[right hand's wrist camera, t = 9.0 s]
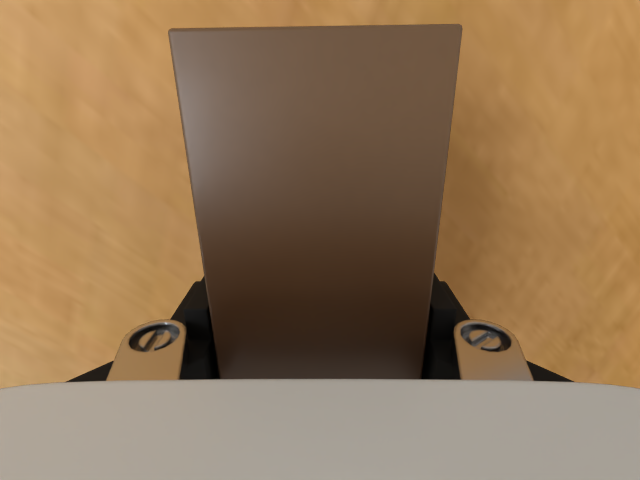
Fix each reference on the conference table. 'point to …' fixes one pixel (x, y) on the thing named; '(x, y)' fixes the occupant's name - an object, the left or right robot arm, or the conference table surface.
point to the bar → (317, 191)
